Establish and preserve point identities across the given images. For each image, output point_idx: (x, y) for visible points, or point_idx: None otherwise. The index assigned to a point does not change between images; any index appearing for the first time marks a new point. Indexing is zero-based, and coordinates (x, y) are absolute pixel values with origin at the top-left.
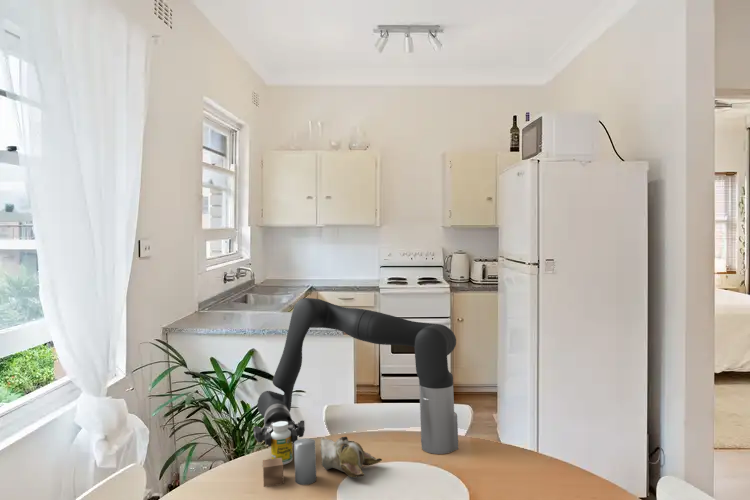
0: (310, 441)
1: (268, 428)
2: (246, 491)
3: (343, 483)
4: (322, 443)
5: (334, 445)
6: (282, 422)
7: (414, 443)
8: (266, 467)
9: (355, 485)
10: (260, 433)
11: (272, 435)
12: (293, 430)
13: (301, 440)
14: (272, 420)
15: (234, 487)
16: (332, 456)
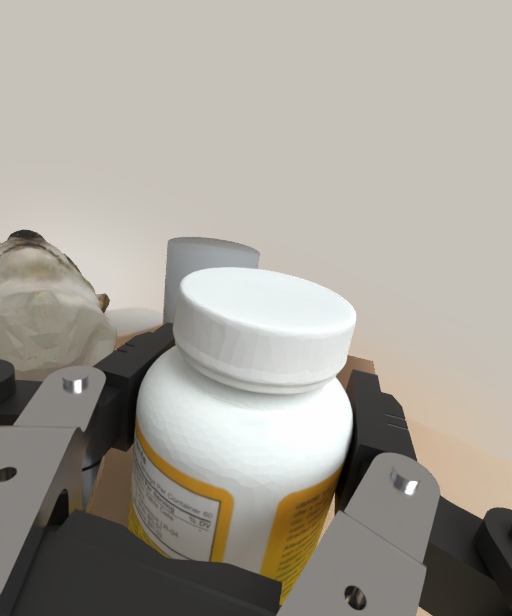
0: (191, 242)
1: (400, 552)
2: (417, 430)
3: (124, 330)
4: (75, 298)
5: (56, 279)
6: (235, 295)
7: None
8: (359, 359)
9: (111, 315)
10: (499, 511)
11: (339, 382)
12: (113, 365)
13: (218, 252)
14: None
15: (482, 481)
16: (97, 303)
